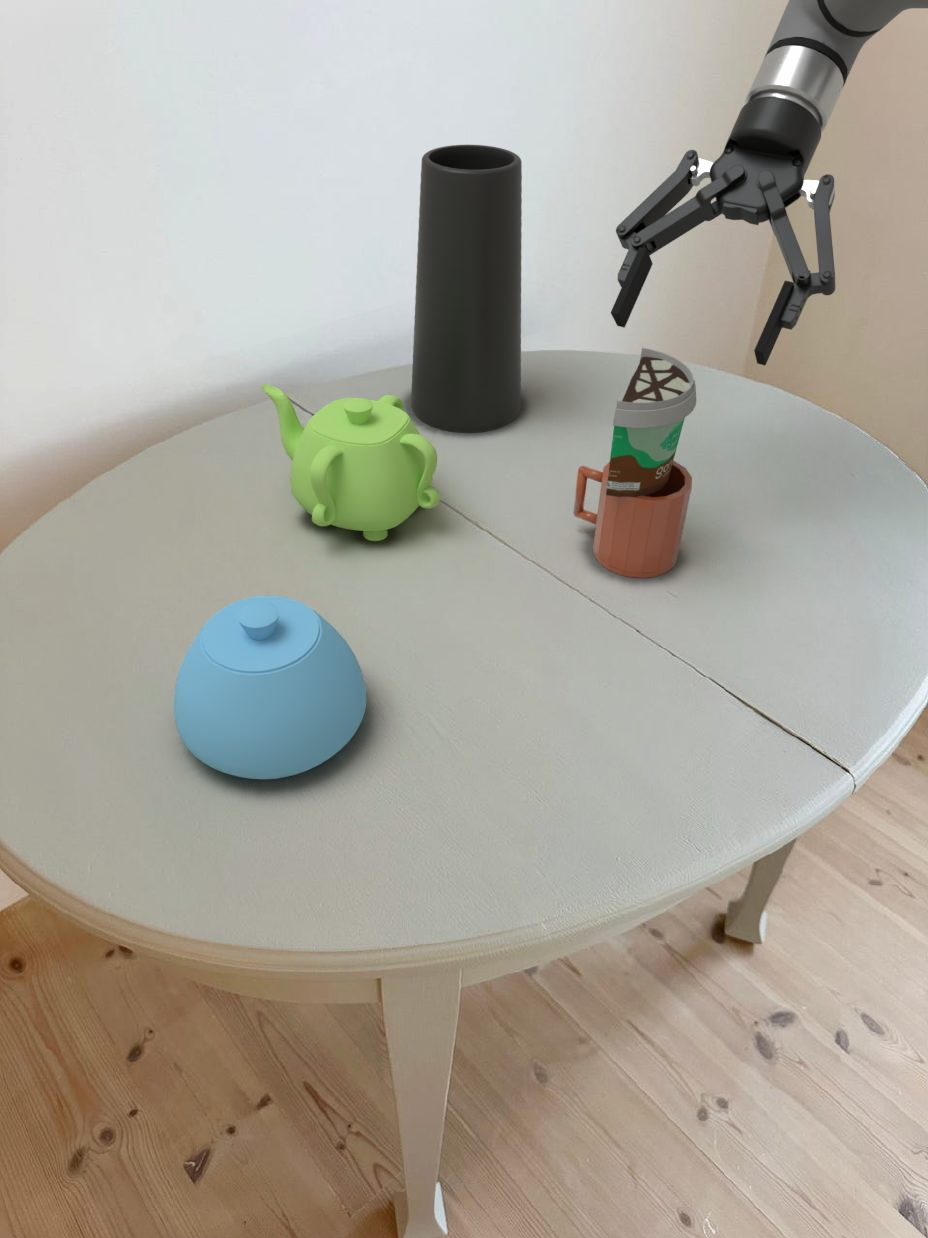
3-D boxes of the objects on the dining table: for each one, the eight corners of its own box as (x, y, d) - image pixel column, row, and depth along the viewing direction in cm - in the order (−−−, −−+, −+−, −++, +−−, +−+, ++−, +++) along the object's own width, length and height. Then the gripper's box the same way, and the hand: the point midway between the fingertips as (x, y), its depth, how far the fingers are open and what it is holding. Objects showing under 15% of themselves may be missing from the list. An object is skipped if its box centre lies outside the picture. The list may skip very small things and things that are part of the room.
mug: (689, 546, 97) (706, 470, 92) (655, 588, 92) (669, 510, 86) (590, 510, 102) (600, 435, 96) (552, 548, 97) (559, 472, 91)
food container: (669, 516, 85) (688, 416, 79) (602, 503, 87) (615, 403, 80) (690, 450, 94) (709, 355, 88) (629, 439, 96) (643, 345, 89)
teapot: (287, 562, 94) (273, 450, 86) (273, 485, 105) (259, 379, 96) (446, 541, 97) (447, 431, 89) (417, 468, 108) (416, 364, 100)
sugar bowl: (293, 823, 70) (276, 713, 63) (140, 746, 76) (107, 636, 68) (402, 697, 80) (398, 589, 73) (260, 637, 86) (243, 531, 78)
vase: (388, 407, 119) (380, 156, 100) (459, 370, 127) (463, 133, 108) (473, 444, 112) (480, 184, 93) (542, 403, 120) (562, 156, 102)
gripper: (924, 169, 83) (826, 392, 83) (661, 125, 94) (574, 323, 94) (930, 114, 77) (823, 356, 77) (646, 72, 87) (552, 286, 87)
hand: (686, 339), depth 85 cm, fingers open, 13 cm apart
